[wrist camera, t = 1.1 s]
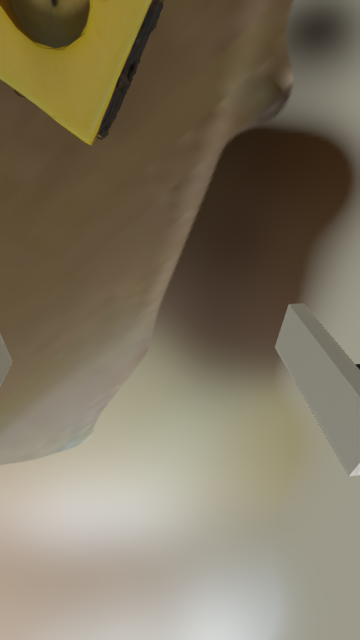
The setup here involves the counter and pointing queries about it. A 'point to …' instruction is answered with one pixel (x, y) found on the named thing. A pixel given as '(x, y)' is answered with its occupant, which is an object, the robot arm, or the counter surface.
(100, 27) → the candle
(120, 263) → the counter surface
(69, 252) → the counter surface
